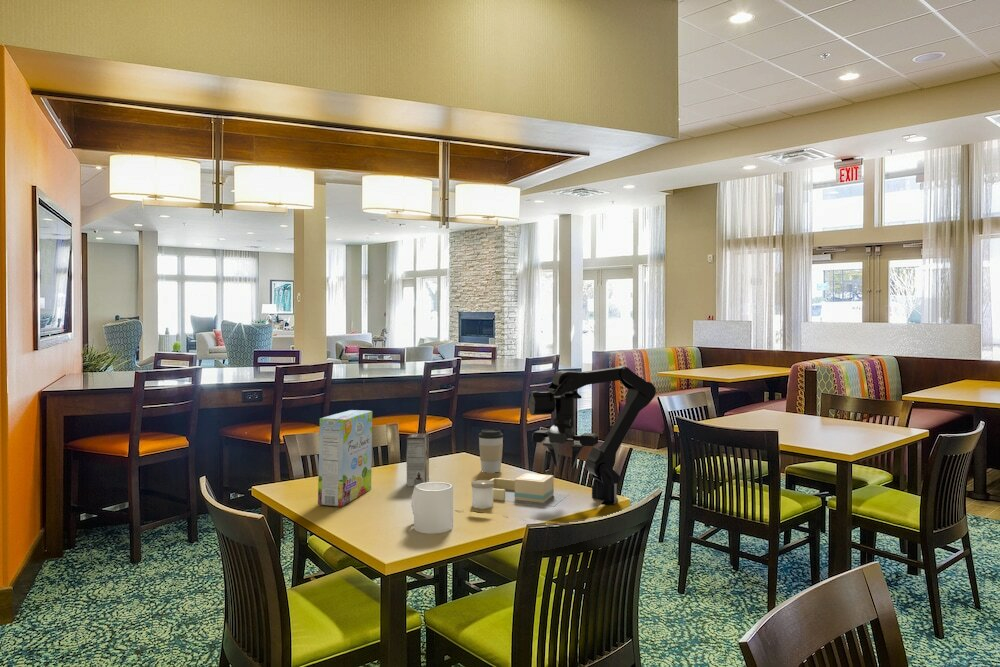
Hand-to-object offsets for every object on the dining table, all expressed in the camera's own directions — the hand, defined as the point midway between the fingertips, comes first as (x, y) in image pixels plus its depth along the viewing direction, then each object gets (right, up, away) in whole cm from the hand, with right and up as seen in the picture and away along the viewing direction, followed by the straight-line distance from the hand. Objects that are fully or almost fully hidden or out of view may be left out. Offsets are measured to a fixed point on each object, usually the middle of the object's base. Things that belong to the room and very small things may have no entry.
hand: (564, 467), depth 192 cm
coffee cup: (-22, -11, +45) cm, 51 cm away
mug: (-37, -12, -20) cm, 43 cm away
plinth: (-12, -11, +5) cm, 17 cm away
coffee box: (-46, -11, +27) cm, 55 cm away
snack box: (-66, -11, +9) cm, 67 cm away
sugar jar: (-24, -11, -5) cm, 27 cm away
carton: (-9, -10, +4) cm, 14 cm away
